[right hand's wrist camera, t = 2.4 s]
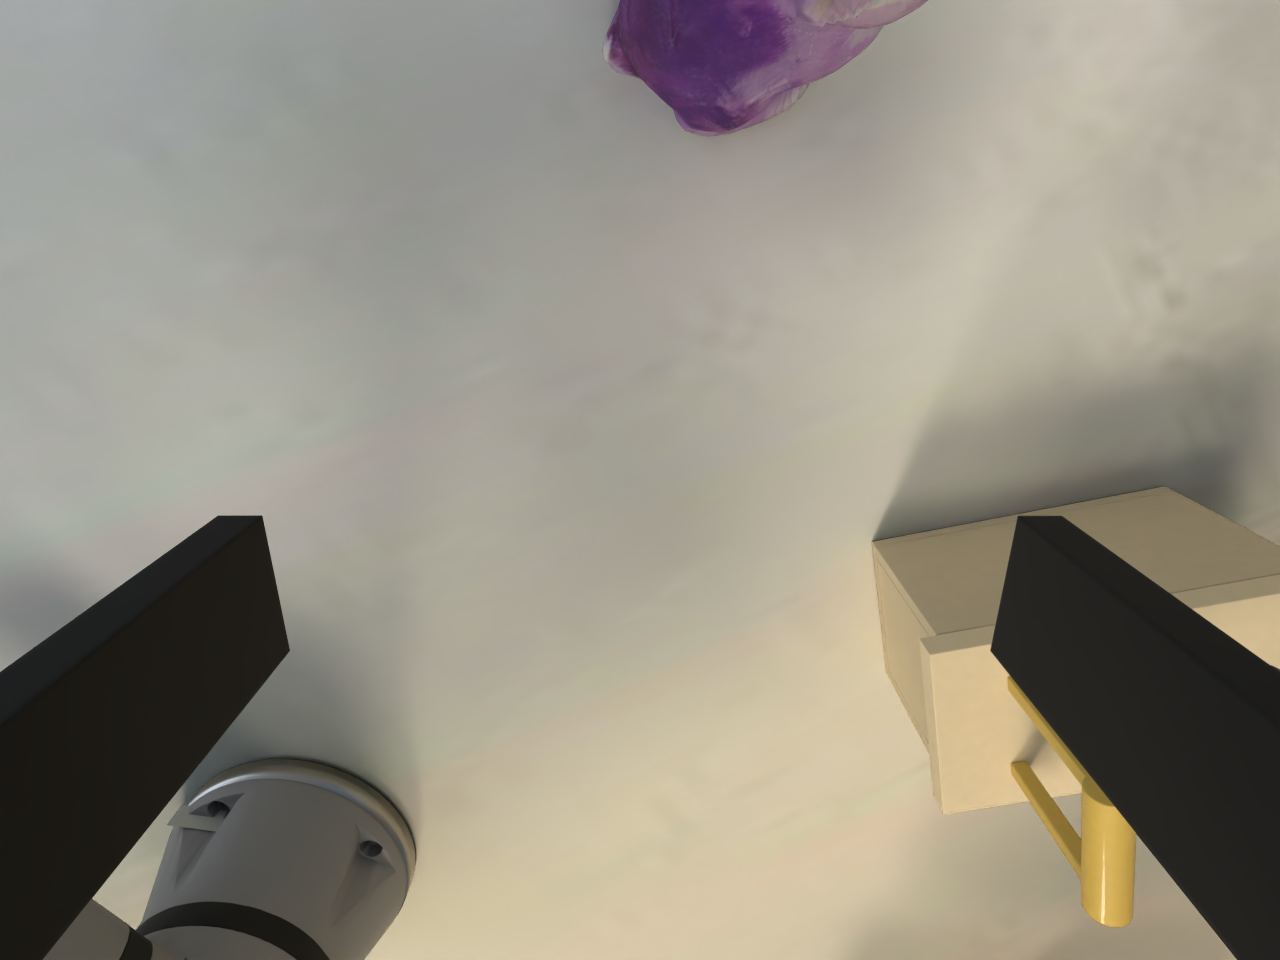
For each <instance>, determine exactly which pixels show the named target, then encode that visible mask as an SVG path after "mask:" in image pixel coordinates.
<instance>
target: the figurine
mask: <svg viewBox="0 0 1280 960" xmlns="http://www.w3.org/2000/svg"><path fill="white" fill-rule="evenodd" d="M926 1H928V0H620V3H619V7H618V10H617V12H616V14H615V17H614V19H613V21H612V23H611V26H610V28H609V30H608V32H607V34H606V36H605V40H604V45H603V57H604V59H605V61H606V63H607V64H608V65H609V66H610V67H611V68H612V69H613V70H614V71H616V72H618V73H621V74H626V75H630V76H634V77H637V78H640V79H642V80H643V81H644V82H645V83H646V84H647V85H648V86H649V87H650V88H651V89H652V90H653V91H654V92H655V93H656V94H657V95H658V96H659V97H660V98H661V99H663V100H664V101H665V102H666V103H667V104H668V105H669V106H670V107H671V108H672V109H673V110H674V113H675V116H676V119H677V121H678V123H679V124H680V125H681V126H682V127H683V129H684V130H685V131H688V132H691V133H695V134H699V135H704V136H716V135H721V134H729V133H732V132H735V131H738V130H741V129H744V128H746V127H749V126H752V125H755V124H757V123H760V122H763V121H765V120H767V119H769V118H771V117H773V116H775V115H777V114H779V113H781V112H782V111H784V110H786V109H788V108H789V107H790V106H791V105H792V104H793V103H794V102H796V101H797V100H798V99H799V98H800V97H801V95H802V94H803V93H804V92H805V90H806V89H807V88H808V84H809V83H810V82H813V81H816V80H818V79H821V78H823V77H825V76H827V75H829V74H831V73H833V72H834V71H836V70H838V69H839V68H841V67H842V66H844V65H845V64H846V63H848V62H849V61H850V60H852V59H853V58H854V57H856V56H857V55H858V54H860V53H861V52H862V51H863V50H865V49H866V48H867V47H868V46H869V45H870V44H871V42H872V41H873V40H874V39H875V37H876V36H877V34H878V33H879V32H880V30H881V29H882V27H883V26H884V25H886V24H889V23H892V22H894V21H896V20H898V19H900V18H902V17H904V16H905V15H907V14H909V13H911V12H912V11H914V10H915V9H917V8H919V7H920V6H921V5H923V4H924V3H925V2H926Z"/></svg>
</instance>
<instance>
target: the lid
mask: <svg viewBox="0 0 1280 960" xmlns="http://www.w3.org/2000/svg"><path fill="white" fill-rule="evenodd" d="M1172 595H1173V596H1174V597H1176V598H1177V599H1179V600H1180V601H1181V602H1183V603H1184V604H1186V605H1187V606H1188V607H1190V608H1191V609H1193V610H1194V611H1195V612H1197V613H1198V614H1200V615H1201V616H1202V617H1204V618H1205V619H1206V620H1208V621H1209V622H1211V623H1212V624H1213V625H1215V626H1216V627H1218V628H1219V629H1220V630H1222V631H1223V632H1225V633H1226V634H1227V635H1229V636H1230V637H1232V638H1233V639H1234V640H1236V641H1237V642H1239V643H1240V644H1241V645H1243V646H1244V647H1246V648H1247V649H1248V650H1250V651H1251V652H1252V653H1254V654H1255V655H1257V656H1258V657H1259V658H1261V659H1262V660H1264V661H1265V662H1266V663H1268V664H1269V665H1272V666H1274V667H1276V668H1278V669H1280V574H1279V575H1273V576H1268V577H1262V578H1256V579H1251V580H1245V581H1240V582H1234V583H1228V584H1223V585H1217V586H1211V587H1206V588H1200V589H1195V590H1189V591H1183V592H1178V593H1172ZM994 630H995V625H992V626H987V627H981V628H975V629H970V630H964V631H959V632H953V633H947V634H942V635H936V636H931V637H925V638H920V639H919V641H920V652H921V664H922V675H923V686H924V697H925V708H926V719H927V730H928V741H929V752H930V763H931V774H932V785H933V795H934V797H935V799H936V801H937V803H938V805H939V807H940V809H941V811H942V813H943V814H944V815H946V814H952V813H958V812H965V811H971V810H977V809H983V808H990V807H996V806H1002V805H1009V804H1015V803H1021V802H1028V801H1029V802H1030V803H1031V805H1032V806H1033V808H1034V809H1035V811H1036V812H1037V814H1038V816H1039V817H1040V819H1041V820H1042V822H1043V823H1044V825H1045V826H1046V828H1047V829H1048V831H1049V832H1050V834H1051V835H1052V837H1053V838H1054V840H1055V841H1056V843H1057V844H1058V846H1059V848H1060V849H1061V851H1062V852H1063V854H1064V855H1065V857H1066V858H1067V860H1068V861H1069V863H1070V864H1071V866H1072V867H1073V869H1074V870H1075V872H1076V873H1077V875H1078V876H1079V878H1080V880H1081V903H1082V906H1083V908H1084V910H1085V911H1086V913H1087V914H1088V915H1089V916H1090V917H1091V918H1092V919H1094V920H1095V921H1097V922H1099V923H1100V924H1103V925H1106V926H1109V927H1123V926H1125V925H1127V924H1128V923H1130V921H1131V920H1132V917H1133V898H1134V873H1135V848H1136V832H1135V831H1134V830H1133V829H1132V827H1131V826H1130V825H1129V824H1128V822H1127V821H1126V820H1125V819H1124V817H1123V816H1122V815H1121V814H1120V812H1119V811H1118V810H1117V809H1116V807H1115V806H1114V805H1113V804H1112V802H1111V801H1110V800H1109V799H1108V797H1107V796H1106V795H1105V794H1104V792H1103V791H1102V790H1101V789H1100V787H1099V786H1098V785H1097V784H1096V782H1095V781H1094V780H1093V779H1092V777H1091V776H1090V775H1089V774H1088V772H1087V771H1086V770H1085V769H1084V767H1083V766H1082V765H1081V764H1080V762H1079V761H1078V760H1077V759H1076V757H1075V756H1074V755H1073V754H1072V752H1071V751H1070V750H1069V749H1068V747H1067V746H1066V745H1065V744H1064V742H1063V741H1062V740H1061V739H1060V737H1059V736H1058V735H1057V734H1056V732H1055V731H1054V730H1053V729H1052V727H1051V726H1050V725H1049V724H1048V722H1047V721H1046V720H1045V719H1044V717H1043V716H1042V715H1041V714H1040V712H1039V711H1038V710H1037V709H1036V707H1035V706H1034V705H1033V704H1032V702H1031V701H1030V700H1029V699H1028V697H1027V696H1026V695H1025V694H1024V692H1023V691H1022V690H1021V689H1020V687H1019V686H1018V685H1017V684H1016V682H1015V681H1014V680H1013V679H1012V677H1011V676H1010V675H1009V674H1008V672H1007V671H1006V670H1005V669H1004V667H1003V666H1002V665H1001V664H1000V662H999V661H998V660H997V659H996V657H995V656H994V655H993V654H992V652H991V651H990V649H991V644H992V639H993V635H994ZM1078 793H1082V813H1081V839H1080V838H1079V836H1078V835H1077V833H1076V832H1075V830H1074V829H1073V828H1072V826H1071V825H1070V823H1069V822H1068V820H1067V819H1066V818H1065V816H1064V815H1063V813H1062V812H1061V810H1060V809H1059V808H1058V806H1057V805H1056V803H1055V802H1054V800H1053V799H1052V798H1053V797H1059V796H1066V795H1072V794H1078Z"/></svg>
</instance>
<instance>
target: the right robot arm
mask: <svg viewBox="0 0 1280 960" xmlns="http://www.w3.org/2000/svg"><path fill="white" fill-rule="evenodd" d="M289 651H290V649H289V644H288V639H287V635H286V630H285V625H284V620H283V615H282V610H281V605H280V600H279V595H278V590H277V586H276V581H275V576H274V571H273V566H272V561H271V556H270V551H269V546H268V541H267V537H266V532H265V527H264V522H263V517H262V516H217V517H216V518H214V519H213V520H211V521H210V522H209V523H207V524H206V525H205V526H203V527H202V528H200V529H199V530H198V531H196V532H195V533H193V534H192V535H191V536H189V537H188V538H186V539H185V540H184V541H182V542H181V543H179V544H178V545H177V546H175V547H174V548H172V549H171V550H170V551H168V552H167V553H165V554H164V555H163V556H161V557H160V558H159V559H157V560H156V561H154V562H153V563H152V564H150V565H149V566H147V567H146V568H145V569H143V570H142V571H140V572H139V573H138V574H136V575H135V576H133V577H132V578H131V579H129V580H128V581H126V582H125V583H124V584H122V585H121V586H120V587H118V588H117V589H115V590H114V591H113V592H111V593H110V594H108V595H107V596H106V597H104V598H103V599H101V600H100V601H99V602H97V603H96V604H94V605H93V606H92V607H90V608H89V609H87V610H86V611H85V612H83V613H82V614H80V615H79V616H78V617H76V618H75V619H74V620H72V621H71V622H69V623H68V624H67V625H65V626H64V627H62V628H61V629H60V630H58V631H57V632H55V633H54V634H53V635H51V636H50V637H48V638H47V639H46V640H44V641H43V642H41V643H40V644H39V645H37V646H36V647H34V648H33V649H32V650H30V651H29V652H28V653H26V654H25V655H23V656H22V657H21V658H19V659H18V660H16V661H15V662H14V663H12V664H11V665H9V666H8V667H7V668H5V669H4V670H2V671H1V672H0V960H364V959H365V958H366V957H367V955H368V954H369V953H370V951H371V950H372V949H373V947H374V946H375V945H376V943H377V942H378V941H379V939H380V938H381V937H382V935H383V934H384V933H385V931H386V930H387V929H388V927H389V926H390V925H391V924H392V922H393V921H394V919H395V917H396V916H397V915H398V913H399V911H400V910H401V908H402V906H403V903H404V901H405V898H406V895H407V892H408V890H409V887H410V884H411V881H412V878H413V874H414V870H415V849H414V844H413V840H412V837H411V834H410V832H409V830H408V828H407V826H406V824H405V822H404V820H403V819H402V817H401V816H400V815H399V813H398V812H397V811H396V809H395V808H394V807H393V806H392V805H391V804H390V803H389V802H388V801H387V800H386V799H385V798H384V797H383V796H382V795H381V794H379V793H378V792H377V791H376V790H374V789H373V788H372V787H370V786H369V785H367V784H366V783H364V782H362V781H361V780H359V779H357V778H355V777H353V776H351V775H349V774H347V773H345V772H342V771H340V770H337V769H335V768H332V767H329V766H325V765H322V764H318V763H313V762H309V761H302V760H293V759H268V760H259V761H253V762H249V763H245V764H241V765H238V766H235V767H233V768H230V769H228V770H226V771H224V772H222V773H220V774H218V775H217V776H215V777H214V778H212V779H211V780H210V781H208V782H207V783H206V784H205V785H204V786H203V787H202V788H201V789H200V790H199V791H198V793H197V794H196V795H195V796H194V798H193V799H192V800H191V802H190V803H189V804H188V806H186V805H182V806H181V807H180V808H179V810H178V811H177V812H176V814H175V815H174V816H173V818H172V819H171V820H170V821H169V823H168V824H167V825H171V826H174V828H173V830H172V833H171V835H170V837H169V840H168V843H167V846H166V849H165V852H164V855H163V858H162V861H161V864H160V867H159V871H158V874H157V877H156V880H155V883H154V886H153V889H152V892H151V895H150V898H149V901H148V904H147V907H146V910H145V913H144V916H143V919H142V921H141V923H140V925H139V926H138V928H137V929H136V930H134V929H133V928H131V927H130V926H129V925H128V924H127V923H125V922H124V921H122V920H121V919H120V918H118V917H117V916H115V915H114V914H113V913H111V912H110V911H108V910H107V909H106V908H104V907H103V906H101V905H100V904H99V903H97V902H96V901H94V900H93V899H92V897H93V896H94V895H95V894H96V892H97V891H98V890H99V889H100V887H101V886H102V885H103V884H104V882H105V881H106V880H107V879H108V877H109V876H110V875H111V874H112V872H113V871H114V870H115V869H116V867H117V866H118V865H119V864H120V862H121V861H122V860H123V859H124V857H125V856H126V855H127V854H128V852H129V851H130V850H131V849H132V847H133V846H134V845H135V844H136V842H137V841H138V840H139V839H140V837H141V836H142V835H143V834H144V832H145V831H146V830H147V829H148V827H149V826H150V825H151V824H152V822H153V821H154V820H155V819H156V817H157V816H158V815H159V814H160V812H161V811H162V810H163V809H164V807H165V806H166V805H167V804H168V802H169V801H170V800H171V799H172V797H173V796H174V795H175V794H176V792H177V791H178V790H179V789H180V787H181V786H182V785H183V784H184V782H185V781H186V780H187V779H188V777H189V776H190V775H191V774H192V772H193V771H194V770H195V769H196V767H197V766H198V765H199V764H200V762H201V761H202V760H203V759H204V757H205V756H206V755H207V754H208V752H209V751H210V750H211V749H212V747H213V746H214V745H215V744H216V742H217V741H218V740H219V739H220V737H221V736H222V735H223V734H224V732H225V731H226V730H227V729H228V727H229V726H230V725H231V724H232V722H233V721H234V720H235V719H236V717H237V716H238V715H239V714H240V712H241V711H242V710H243V709H244V707H245V706H246V705H247V704H248V702H249V701H250V700H251V699H252V697H253V696H254V695H255V694H256V692H257V691H258V690H259V689H260V687H261V686H262V685H263V684H264V682H265V681H266V680H267V679H268V677H269V676H270V675H271V674H272V672H273V671H274V670H275V669H276V667H277V666H278V665H279V664H280V662H281V661H282V660H283V659H284V657H285V656H286V655H287V654H288V652H289ZM990 651H991V652H992V654H993V655H994V656H995V657H996V659H997V660H998V661H999V662H1000V664H1001V665H1002V666H1003V667H1004V669H1005V670H1006V671H1007V672H1008V674H1009V675H1010V676H1011V677H1012V679H1013V680H1014V681H1015V682H1016V684H1017V685H1018V686H1019V687H1020V689H1021V690H1022V691H1023V692H1024V694H1025V695H1026V696H1027V697H1028V699H1029V700H1030V701H1031V702H1032V704H1033V705H1034V706H1035V707H1036V709H1037V710H1038V711H1039V712H1040V714H1041V715H1042V716H1043V717H1044V719H1045V720H1046V721H1047V722H1048V724H1049V725H1050V726H1051V727H1052V729H1053V730H1054V731H1055V732H1056V734H1057V735H1058V736H1059V737H1060V739H1061V740H1062V741H1063V742H1064V744H1065V745H1066V746H1067V747H1068V749H1069V750H1070V751H1071V752H1072V754H1073V755H1074V756H1075V757H1076V759H1077V760H1078V761H1079V762H1080V764H1081V765H1082V766H1083V767H1084V769H1085V770H1086V771H1087V772H1088V774H1089V775H1090V776H1091V777H1092V779H1093V780H1094V781H1095V782H1096V784H1097V785H1098V786H1099V787H1100V789H1101V790H1102V791H1103V792H1104V794H1105V795H1106V796H1107V797H1108V799H1109V800H1110V801H1111V802H1112V804H1113V805H1114V806H1115V807H1116V809H1117V810H1118V811H1119V812H1120V814H1121V815H1122V816H1123V817H1124V819H1125V820H1126V821H1127V822H1128V824H1129V825H1130V826H1131V827H1132V829H1133V830H1134V831H1135V832H1136V834H1137V835H1138V836H1139V837H1140V839H1141V840H1142V841H1143V842H1144V844H1145V845H1146V846H1147V847H1148V849H1149V850H1150V851H1151V852H1152V854H1153V855H1154V856H1155V857H1156V859H1157V860H1158V861H1159V862H1160V864H1161V865H1162V866H1163V867H1164V869H1165V870H1166V871H1167V872H1168V874H1169V875H1170V876H1171V877H1172V879H1173V880H1174V881H1175V882H1176V884H1177V885H1178V886H1179V887H1180V889H1181V890H1182V891H1183V892H1184V894H1185V895H1186V896H1187V897H1188V899H1189V900H1190V901H1191V902H1192V904H1193V905H1194V906H1195V907H1196V909H1197V910H1198V911H1199V912H1200V914H1201V915H1202V916H1203V917H1204V919H1205V920H1206V921H1207V922H1208V924H1209V925H1210V926H1211V927H1212V929H1213V930H1214V931H1215V932H1216V934H1217V935H1218V936H1219V937H1220V939H1221V940H1222V941H1223V942H1224V944H1225V945H1226V946H1227V947H1228V949H1229V950H1230V951H1231V952H1232V954H1233V955H1234V956H1235V957H1236V959H1237V960H1280V669H1278V668H1276V667H1274V666H1272V665H1269V664H1268V663H1266V662H1265V661H1264V660H1262V659H1261V658H1259V657H1258V656H1257V655H1255V654H1254V653H1252V652H1251V651H1250V650H1248V649H1247V648H1246V647H1244V646H1243V645H1241V644H1240V643H1239V642H1237V641H1236V640H1234V639H1233V638H1232V637H1230V636H1229V635H1227V634H1226V633H1225V632H1223V631H1222V630H1220V629H1219V628H1218V627H1216V626H1215V625H1213V624H1212V623H1211V622H1209V621H1208V620H1206V619H1205V618H1204V617H1202V616H1201V615H1200V614H1198V613H1197V612H1195V611H1194V610H1193V609H1191V608H1190V607H1188V606H1187V605H1186V604H1184V603H1183V602H1181V601H1180V600H1179V599H1177V598H1176V597H1174V596H1173V595H1172V594H1170V593H1169V592H1167V591H1166V590H1165V589H1163V588H1162V587H1160V586H1159V585H1158V584H1156V583H1155V582H1154V581H1152V580H1151V579H1149V578H1148V577H1147V576H1145V575H1144V574H1142V573H1141V572H1140V571H1138V570H1137V569H1135V568H1134V567H1133V566H1131V565H1130V564H1128V563H1127V562H1126V561H1124V560H1123V559H1121V558H1120V557H1119V556H1117V555H1116V554H1115V553H1113V552H1112V551H1110V550H1109V549H1108V548H1106V547H1105V546H1103V545H1102V544H1101V543H1099V542H1098V541H1096V540H1095V539H1094V538H1092V537H1091V536H1089V535H1088V534H1087V533H1085V532H1084V531H1082V530H1081V529H1080V528H1078V527H1077V526H1075V525H1074V524H1073V523H1071V522H1070V521H1069V520H1067V519H1066V518H1064V517H1063V516H1018V517H1017V522H1016V527H1015V532H1014V537H1013V541H1012V546H1011V551H1010V556H1009V561H1008V566H1007V571H1006V576H1005V581H1004V586H1003V590H1002V595H1001V600H1000V605H999V610H998V615H997V620H996V625H995V630H994V635H993V639H992V644H991V649H990Z"/></svg>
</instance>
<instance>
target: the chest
mask: <svg viewBox="0 0 1280 960" xmlns="http://www.w3.org/2000/svg"><path fill="white" fill-rule="evenodd" d="M1018 516H1063V517H1064V518H1066V519H1067V520H1069V521H1070V522H1071V523H1073V524H1074V525H1075V526H1077V527H1078V528H1080V529H1081V530H1082V531H1084V532H1085V533H1087V534H1088V535H1089V536H1091V537H1092V538H1094V539H1095V540H1096V541H1098V542H1099V543H1101V544H1102V545H1103V546H1105V547H1106V548H1108V549H1109V550H1110V551H1112V552H1113V553H1115V554H1116V555H1117V556H1119V557H1120V558H1121V559H1123V560H1124V561H1126V562H1127V563H1128V564H1130V565H1131V566H1133V567H1134V568H1135V569H1137V570H1138V571H1140V572H1141V573H1142V574H1144V575H1145V576H1147V577H1148V578H1149V579H1151V580H1152V581H1154V582H1155V583H1156V584H1158V585H1159V586H1160V587H1162V588H1163V589H1165V590H1166V591H1167V592H1169V593H1170V594H1172V593H1178V592H1183V591H1189V590H1195V589H1200V588H1206V587H1211V586H1217V585H1223V584H1228V583H1234V582H1240V581H1245V580H1251V579H1256V578H1262V577H1268V576H1273V575H1279V574H1280V546H1278V545H1276V544H1274V543H1272V542H1271V541H1269V540H1267V539H1265V538H1263V537H1261V536H1259V535H1257V534H1255V533H1253V532H1251V531H1250V530H1248V529H1246V528H1244V527H1242V526H1240V525H1238V524H1236V523H1234V522H1232V521H1230V520H1229V519H1227V518H1225V517H1223V516H1221V515H1219V514H1217V513H1215V512H1213V511H1211V510H1210V509H1208V508H1206V507H1204V506H1202V505H1200V504H1198V503H1196V502H1194V501H1192V500H1190V499H1189V498H1187V497H1185V496H1183V495H1181V494H1179V493H1177V492H1175V491H1173V490H1171V489H1169V488H1167V487H1165V486H1164V487H1158V488H1153V489H1148V490H1143V491H1137V492H1132V493H1127V494H1121V495H1116V496H1111V497H1106V498H1100V499H1095V500H1090V501H1084V502H1079V503H1074V504H1069V505H1063V506H1058V507H1053V508H1048V509H1042V510H1037V511H1032V512H1026V513H1021V514H1016V515H1011V516H1005V517H1000V518H995V519H989V520H984V521H979V522H974V523H968V524H963V525H958V526H952V527H947V528H942V529H937V530H931V531H926V532H921V533H916V534H910V535H905V536H900V537H894V538H889V539H884V540H879V541H873V542H872V549H873V558H874V567H875V576H876V585H877V594H878V603H879V611H880V620H881V629H882V638H883V647H884V656H885V665H886V673H887V675H888V677H889V679H890V681H891V683H892V685H893V687H894V688H895V690H896V692H897V694H898V696H899V698H900V700H901V702H902V704H903V705H904V707H905V709H906V711H907V713H908V715H909V717H910V719H911V721H912V722H913V724H914V726H915V728H916V730H917V732H918V734H919V736H920V738H921V739H922V741H923V743H924V745H925V747H926V749H927V751H928V753H929V755H930V752H929V741H928V730H927V719H926V708H925V697H924V686H923V675H922V664H921V652H920V641H919V639H920V638H925V637H931V636H936V635H942V634H947V633H953V632H959V631H964V630H970V629H975V628H981V627H987V626H992V625H996V620H997V615H998V610H999V605H1000V600H1001V595H1002V590H1003V586H1004V581H1005V576H1006V571H1007V566H1008V561H1009V556H1010V551H1011V546H1012V541H1013V537H1014V532H1015V527H1016V522H1017V517H1018Z"/></svg>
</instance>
